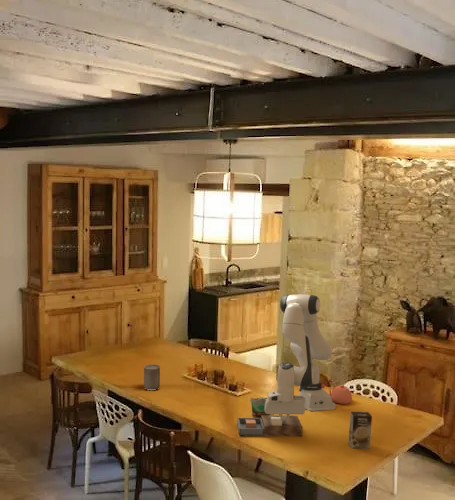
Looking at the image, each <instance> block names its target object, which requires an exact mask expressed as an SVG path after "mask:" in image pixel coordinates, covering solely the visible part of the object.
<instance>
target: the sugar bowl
mask: <svg viewBox="0 0 455 500" xmlns="http://www.w3.org/2000/svg"><path fill="white" fill-rule="evenodd" d="M328 390H329V392H328V393H329V394H330V396H331V399H332V402H333V403H334V404H343V405H347V404H349V403H351V402H352V400H353V396H352V395H353V394H352V393H351V391H350V388H348V387H347V386H345V384H340V385H336V386H335V387H333V386H332V387H329V389H328ZM331 391H332V392H331Z"/></svg>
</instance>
